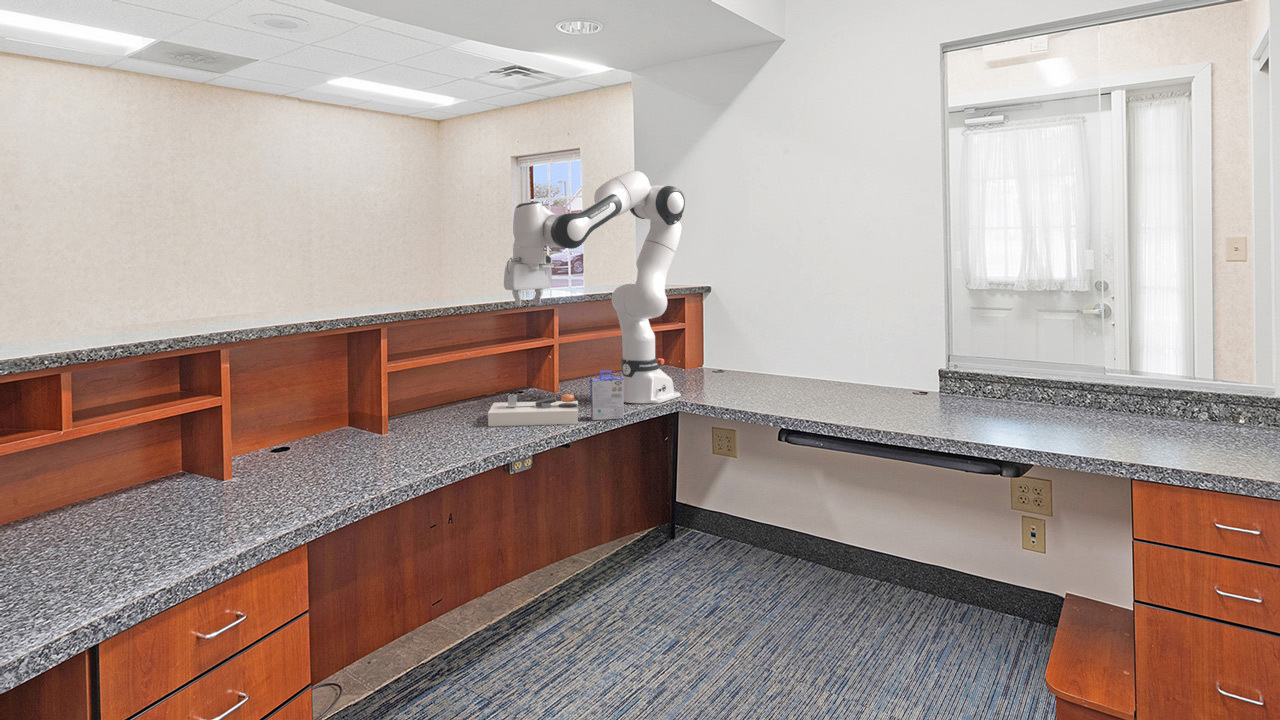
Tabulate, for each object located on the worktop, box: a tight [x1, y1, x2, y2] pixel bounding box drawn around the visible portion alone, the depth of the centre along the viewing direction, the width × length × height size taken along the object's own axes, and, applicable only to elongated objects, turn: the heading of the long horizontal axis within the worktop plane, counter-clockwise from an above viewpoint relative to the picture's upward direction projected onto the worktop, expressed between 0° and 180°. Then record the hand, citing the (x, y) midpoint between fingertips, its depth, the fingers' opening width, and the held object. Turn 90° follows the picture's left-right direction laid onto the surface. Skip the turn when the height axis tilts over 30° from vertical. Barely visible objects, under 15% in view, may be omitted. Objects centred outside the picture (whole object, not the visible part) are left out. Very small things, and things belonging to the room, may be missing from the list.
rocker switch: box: [535, 396, 557, 407], centre depth 218 cm, size 6×4×1 cm, turn 93°
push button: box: [560, 393, 575, 402], centre depth 218 cm, size 4×4×2 cm
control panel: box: [487, 400, 579, 427], centre depth 218 cm, size 26×14×6 cm, turn 94°
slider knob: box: [507, 393, 518, 407], centre depth 217 cm, size 2×4×3 cm, turn 4°
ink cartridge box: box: [589, 369, 625, 421], centre depth 219 cm, size 10×6×14 cm, turn 102°
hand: (528, 304), depth 214 cm, fingers open, 8 cm apart
